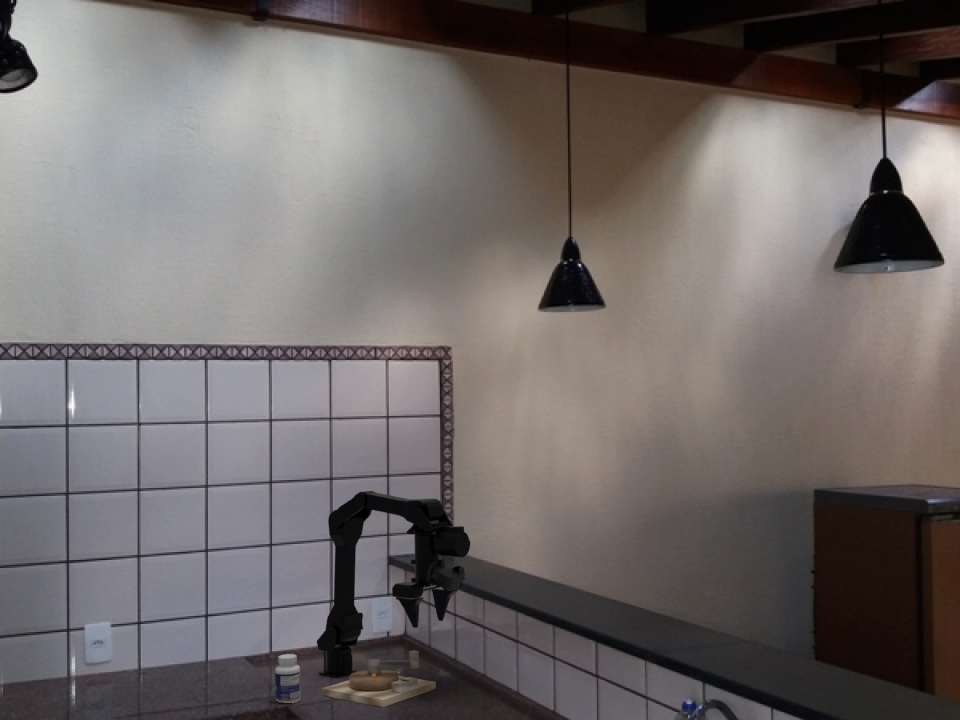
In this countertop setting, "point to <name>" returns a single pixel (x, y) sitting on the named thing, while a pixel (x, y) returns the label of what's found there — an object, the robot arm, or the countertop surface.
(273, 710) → the countertop surface
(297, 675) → the pill bottle
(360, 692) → the stand
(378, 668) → the crank handle
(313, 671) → the countertop surface
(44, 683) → the countertop surface
